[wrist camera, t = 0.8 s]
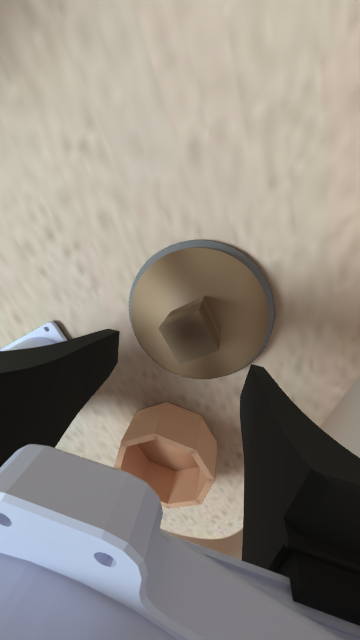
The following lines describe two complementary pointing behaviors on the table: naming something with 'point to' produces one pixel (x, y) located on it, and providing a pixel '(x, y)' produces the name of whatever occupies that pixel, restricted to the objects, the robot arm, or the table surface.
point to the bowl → (170, 454)
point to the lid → (200, 313)
